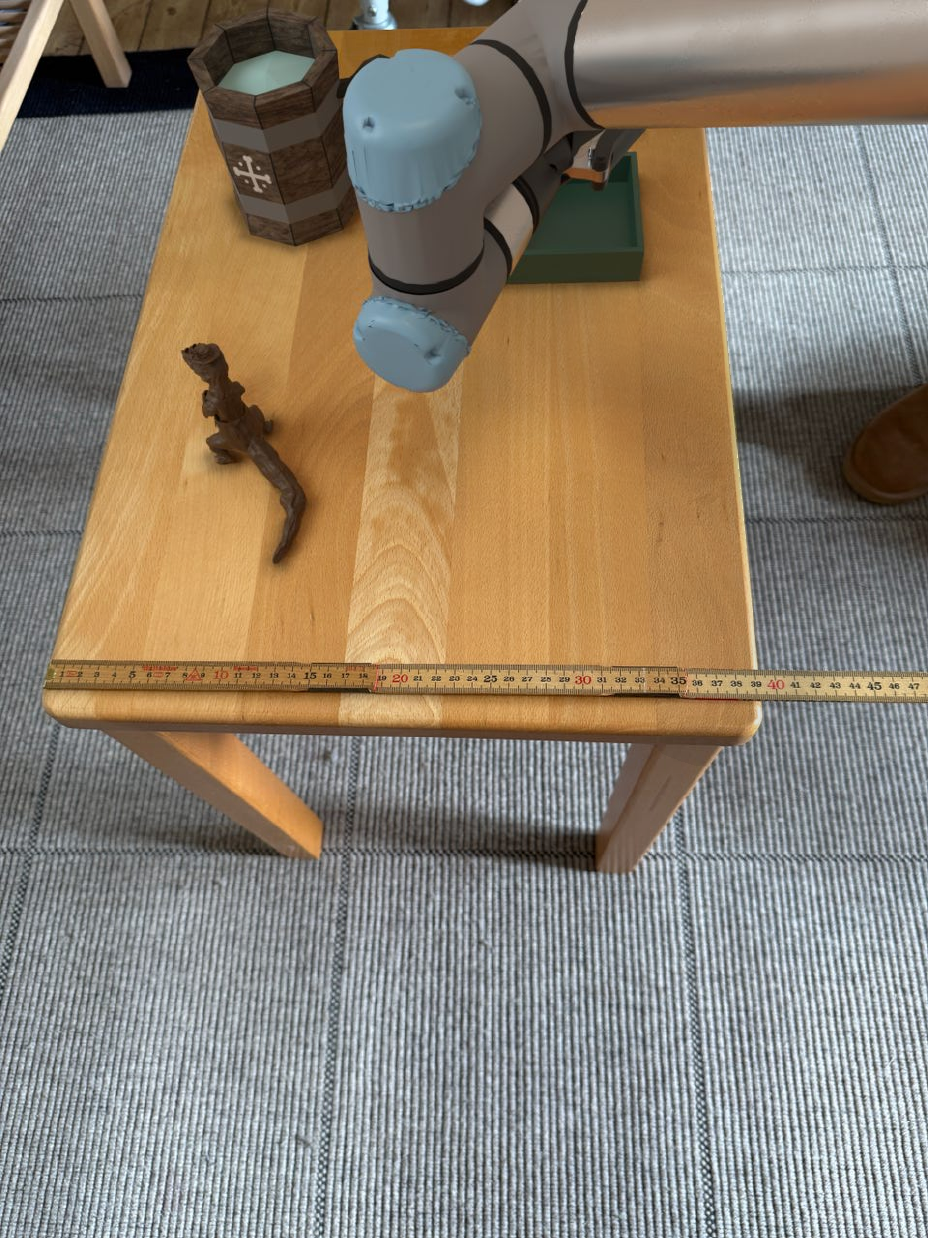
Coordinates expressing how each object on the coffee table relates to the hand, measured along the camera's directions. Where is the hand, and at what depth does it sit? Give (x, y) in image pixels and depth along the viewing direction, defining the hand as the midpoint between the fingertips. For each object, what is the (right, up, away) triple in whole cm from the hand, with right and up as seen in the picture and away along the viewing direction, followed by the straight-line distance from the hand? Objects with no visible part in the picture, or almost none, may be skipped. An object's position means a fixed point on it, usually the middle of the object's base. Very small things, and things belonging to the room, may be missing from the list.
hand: (600, 20), depth 72 cm
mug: (-25, -5, +19) cm, 32 cm away
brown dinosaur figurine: (-29, -38, +5) cm, 48 cm away
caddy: (-1, -11, +15) cm, 18 cm away
